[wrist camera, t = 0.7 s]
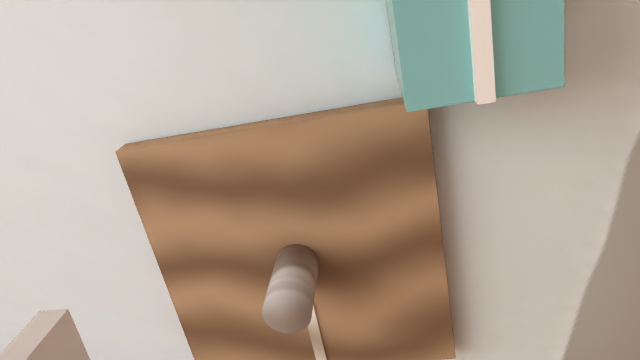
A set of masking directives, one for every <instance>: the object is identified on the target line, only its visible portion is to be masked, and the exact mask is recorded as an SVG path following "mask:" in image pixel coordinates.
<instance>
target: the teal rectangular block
mask: <svg viewBox="0 0 640 360" xmlns="http://www.w3.org/2000/svg"><path fill="white" fill-rule="evenodd" d="M386 2H387V9H388V17H389V24H390V31H391V39H392V46H393V54H394V61H395V68H396V75H397V79H398V82H399V86H400V90H401V93H402V97H403V101H404V104H405V108H406V112H412V111H418V110H424V109H431V108H437V107H443V106H449V105H455V104H461V103H467V102H473V101H475V102H476V103H477V105H480V104H486V103H492V102H496V98H498V97H504V96H510V95H516V94H522V93H528V92H534V91H541V90H547V89H553V88H559V87H565V73H564V0H386Z"/></svg>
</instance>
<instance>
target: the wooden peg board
mask: <svg viewBox="0 0 640 360" xmlns="http://www.w3.org/2000/svg"><path fill="white" fill-rule="evenodd" d="M116 155H117V157H118V160H119V163H120V165H121V168H122V170H123V173H124V176H125V178H126V181H127V184H128V186H129V189H130V191H131V194H132V197H133V199H134V202H135V205H136V207H137V210H138V212H139V215H140V218H141V220H142V223H143V226H144V228H145V231H146V233H147V236H148V239H149V241H150V244H151V246H152V249H153V252H154V254H155V257H156V260H157V262H158V265H159V267H160V270H161V273H162V275H163V278H164V281H165V283H166V286H167V288H168V291H169V294H170V296H171V299H172V302H173V304H174V307H175V309H176V312H177V315H178V317H179V320H180V323H181V325H182V328H183V330H184V333H185V336H186V338H187V341H188V344H189V346H190V349H191V351H192V354H193V357H194V359H195V360H442V359H453V358H456V355H455V346H454V337H453V328H452V320H451V311H450V302H449V293H448V284H447V275H446V267H445V258H444V249H443V240H442V231H441V223H440V214H439V205H438V196H437V187H436V178H435V170H434V161H433V152H432V143H431V134H430V126H429V117H428V109H424V110H418V111H412V112H406V108H405V104H404V101H403V98H397V99H391V100H385V101H379V102H373V103H367V104H361V105H355V106H349V107H343V108H337V109H331V110H325V111H319V112H313V113H307V114H301V115H295V116H290V117H284V118H278V119H272V120H266V121H260V122H254V123H248V124H242V125H236V126H230V127H224V128H218V129H212V130H206V131H200V132H194V133H188V134H182V135H176V136H171V137H165V138H159V139H153V140H147V141H141V142H135V143H129V144H125V145H124V146H122V147H121V148H120V149H119V150H118V151H116Z"/></svg>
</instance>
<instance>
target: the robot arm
mask: <svg viewBox="0 0 640 360" xmlns="http://www.w3.org/2000/svg"><path fill="white" fill-rule="evenodd" d="M0 360H90V358H89V356H88V354H87V351H86V349H85V347H84V344H83V342H82V340H81V338H80V335H79V333H78V331H77V328H76V326H75V324H74V322H73V319H72V317H71V315H70V312H69V310H68V309H61V310H49V311H39V312H38V313H37V314H36V315H35V316H34V318H33V319H32V320H31V321H30V322H29V323H28V324H27V325H26V326H25V327H24V329H23V330H22V331H21V332H20V333H19V334H18V335H17V336H16V337H15V338H14V339H13V341H12V342H11V343H10V344H9V345H8V346H7V347H6V348H5V349H4V350H3V352H2V353H1V354H0Z"/></svg>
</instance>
